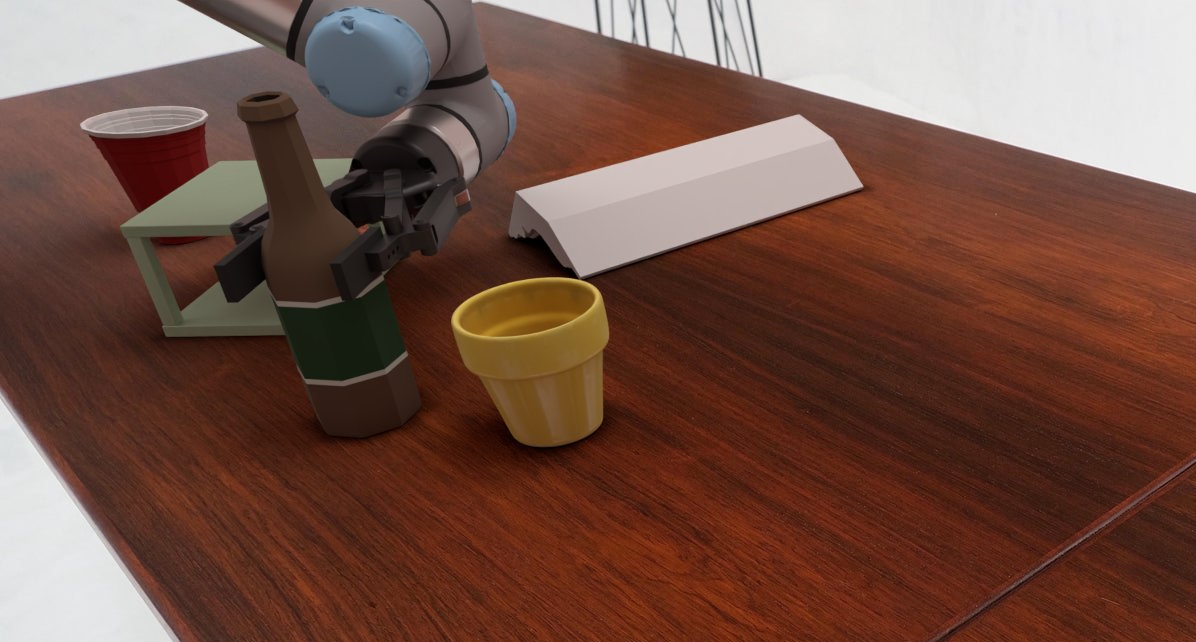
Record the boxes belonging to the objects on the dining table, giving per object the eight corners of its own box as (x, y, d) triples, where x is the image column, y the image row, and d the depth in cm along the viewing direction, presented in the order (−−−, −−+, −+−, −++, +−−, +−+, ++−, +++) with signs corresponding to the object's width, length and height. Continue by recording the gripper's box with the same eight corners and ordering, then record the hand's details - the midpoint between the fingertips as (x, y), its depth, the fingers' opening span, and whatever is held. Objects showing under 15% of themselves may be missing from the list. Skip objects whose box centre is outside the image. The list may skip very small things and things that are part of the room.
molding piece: (565, 330, 126) (580, 277, 117) (508, 232, 127) (518, 173, 119) (833, 238, 143) (863, 186, 135) (780, 153, 144) (807, 96, 136)
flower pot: (478, 410, 98) (443, 291, 92) (613, 381, 101) (588, 264, 96) (492, 475, 90) (456, 350, 85) (639, 441, 93) (614, 318, 88)
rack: (165, 337, 110) (118, 226, 105) (256, 262, 124) (219, 160, 118) (324, 334, 110) (285, 223, 104) (399, 260, 123) (368, 157, 117)
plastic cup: (265, 229, 131) (222, 111, 124) (153, 263, 124) (101, 140, 118) (223, 206, 137) (180, 92, 130) (114, 236, 131) (63, 118, 124)
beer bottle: (446, 405, 99) (351, 88, 85) (358, 450, 94) (242, 121, 80) (382, 381, 102) (281, 74, 89) (294, 424, 97) (172, 104, 84)
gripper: (546, 209, 107) (444, 331, 88) (309, 214, 108) (159, 336, 89) (525, 119, 103) (414, 227, 84) (279, 125, 104) (115, 233, 85)
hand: (283, 283), depth 87 cm, fingers closed on beer bottle, 7 cm apart
